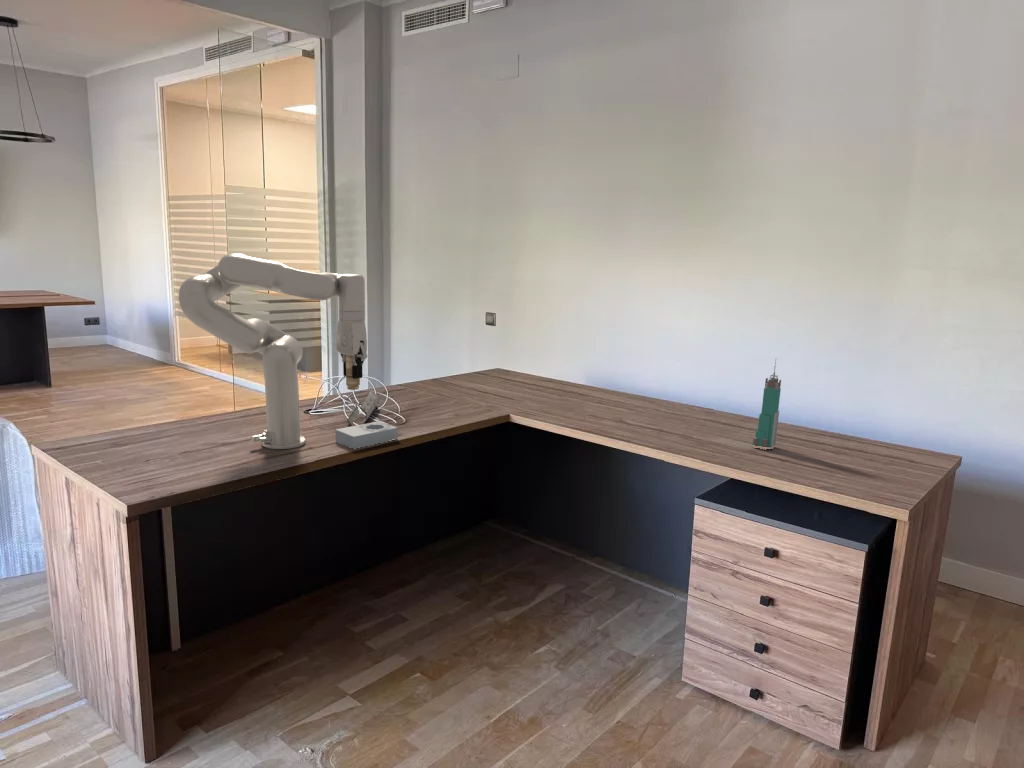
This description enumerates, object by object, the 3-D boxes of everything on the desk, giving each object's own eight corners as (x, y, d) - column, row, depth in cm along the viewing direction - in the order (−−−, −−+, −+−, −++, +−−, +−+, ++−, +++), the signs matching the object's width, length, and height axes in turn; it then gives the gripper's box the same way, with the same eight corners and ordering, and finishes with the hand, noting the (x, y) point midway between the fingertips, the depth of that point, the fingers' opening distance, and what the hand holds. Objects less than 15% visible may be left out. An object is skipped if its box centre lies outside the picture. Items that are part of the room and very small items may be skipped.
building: (770, 451, 223) (781, 358, 217) (751, 448, 226) (761, 356, 220) (775, 447, 228) (785, 355, 222) (756, 443, 231) (765, 353, 225)
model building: (371, 415, 261) (359, 434, 237) (357, 401, 260) (344, 420, 236) (385, 401, 260) (375, 420, 236) (371, 388, 259) (360, 405, 235)
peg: (350, 390, 210) (350, 351, 207) (343, 388, 213) (342, 349, 210) (362, 388, 213) (362, 349, 210) (355, 386, 216) (354, 347, 213)
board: (353, 449, 211) (353, 436, 210) (335, 442, 217) (335, 429, 217) (397, 439, 222) (397, 427, 221) (379, 433, 229) (379, 421, 228)
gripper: (325, 314, 211) (327, 373, 215) (356, 320, 200) (357, 383, 204) (347, 312, 217) (348, 371, 220) (379, 318, 205) (379, 380, 209)
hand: (352, 376), depth 212 cm, fingers closed on peg, 4 cm apart
